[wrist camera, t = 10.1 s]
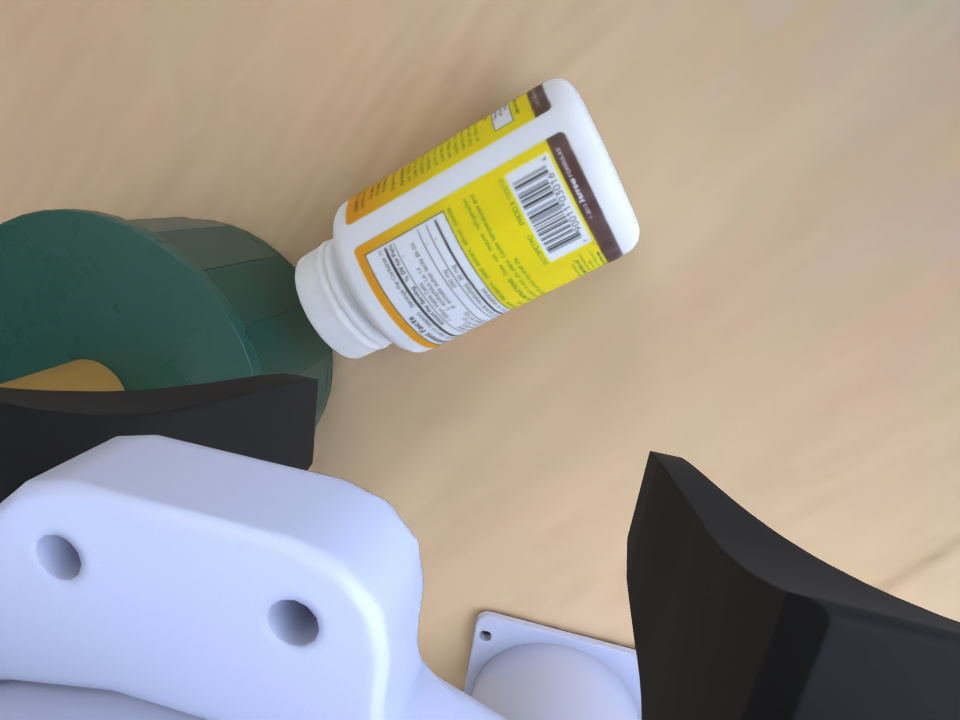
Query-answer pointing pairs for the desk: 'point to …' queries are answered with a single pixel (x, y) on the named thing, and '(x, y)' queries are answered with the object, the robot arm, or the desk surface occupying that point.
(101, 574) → the robot arm
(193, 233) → the tin
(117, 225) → the lid
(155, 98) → the desk surface
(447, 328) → the supplement bottle
